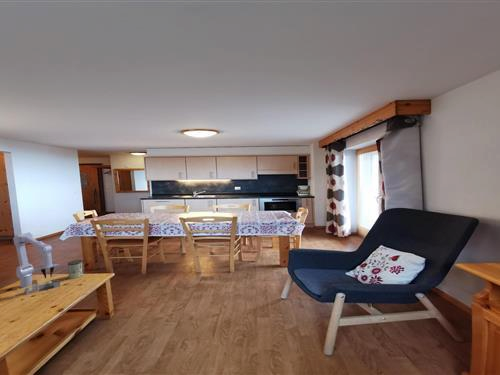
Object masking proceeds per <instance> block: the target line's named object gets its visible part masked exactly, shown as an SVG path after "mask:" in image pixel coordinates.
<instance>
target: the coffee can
mask: <svg viewBox="0 0 500 375" xmlns="http://www.w3.org/2000/svg"><path fill="white" fill-rule="evenodd" d="M67 271H68V273H67V274H68V279H69V280H74V279H79V278H82V276H84V274H83V261H82V259H76V260H70V261H68V262H67Z"/></svg>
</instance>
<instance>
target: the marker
mask: <svg viewBox="0 0 500 375" xmlns="http://www.w3.org/2000/svg"><path fill="white" fill-rule="evenodd" d="M38 286H39V285H38V279H34V280H33V279H32V285H31V287H32V291H33V292H34V291H37V290H38Z"/></svg>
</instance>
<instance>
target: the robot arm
mask: <svg viewBox="0 0 500 375" xmlns="http://www.w3.org/2000/svg"><path fill="white" fill-rule="evenodd" d="M27 243H29V244H31V245H33V247H34V248H35V249H37V250H38V251H39V254H40V256H41V259H42V266H40V267H36V268H34V266H33V264H32V263H29V259H28V256H27V255H28V254H27V250H26V244H27ZM13 244H14V246H15V249H16V253H17V254H16V255H17V258H18V264H19V266H18V267H17V268H16V269H15V270H16V273H15V275H16V277H17V278H19V286H20V288H24V289H25V288H29V287H32V281H33V277H32V276H33V273H34V272H38V271H40V272H41V273H42V275H43V277H44V279H47V273H46V272H47V271H46V270H48V269H49V271H50V272H49V273H50V276H49V277H50V278H52V276H53V272H54V270H55V268H58V267H60V263H55V264H53V258H52V252H53V249H54V248H53V246H52V245H51V244H46V243H44V241H42V240H38V239H36V238H35V237H33V234H32V233H31V232H26V233H21V234H17V235H14V237H13Z"/></svg>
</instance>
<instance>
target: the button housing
mask: <svg viewBox="0 0 500 375" xmlns="http://www.w3.org/2000/svg"><path fill="white" fill-rule="evenodd" d="M51 289H55V288H54V283H51V284H48V285H44V291H47V290H51Z"/></svg>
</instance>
